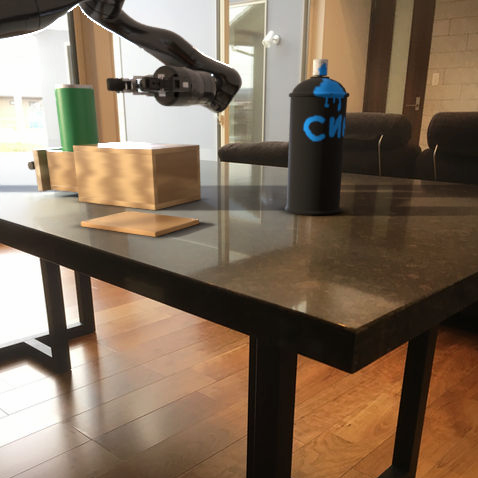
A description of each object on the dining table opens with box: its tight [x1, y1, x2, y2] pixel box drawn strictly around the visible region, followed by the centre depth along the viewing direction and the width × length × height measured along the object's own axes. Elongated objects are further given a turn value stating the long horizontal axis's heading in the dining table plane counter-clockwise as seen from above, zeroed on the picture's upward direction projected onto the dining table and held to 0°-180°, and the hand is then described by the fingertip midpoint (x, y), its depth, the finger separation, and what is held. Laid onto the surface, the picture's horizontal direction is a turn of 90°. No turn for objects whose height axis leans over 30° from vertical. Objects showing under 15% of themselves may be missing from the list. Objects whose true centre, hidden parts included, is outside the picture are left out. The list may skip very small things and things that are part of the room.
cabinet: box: [73, 141, 202, 211], centre depth 83 cm, size 16×12×9 cm
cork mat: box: [80, 210, 200, 238], centre depth 66 cm, size 12×9×1 cm
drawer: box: [27, 146, 78, 193], centre depth 89 cm, size 19×11×7 cm, turn 60°
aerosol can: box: [284, 58, 350, 216], centre depth 73 cm, size 8×8×20 cm
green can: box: [54, 83, 100, 152], centre depth 87 cm, size 6×6×16 cm
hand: (125, 83), depth 94 cm, fingers open, 8 cm apart
